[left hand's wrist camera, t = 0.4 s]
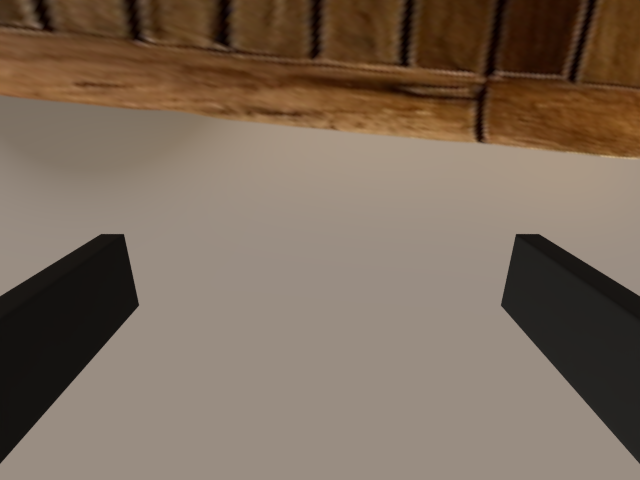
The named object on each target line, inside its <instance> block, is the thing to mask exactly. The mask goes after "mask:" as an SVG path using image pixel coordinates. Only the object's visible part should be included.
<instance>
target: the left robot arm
mask: <svg viewBox="0 0 640 480" xmlns="http://www.w3.org/2000/svg"><path fill="white" fill-rule="evenodd" d="M138 306H139V303H138V298H137V294H136V289H135V284H134V279H133V275H132V270H131V265H130V261H129V256H128V251H127V246H126V242H125V237H124V234H101V235H99V236H97V237H96V238H94V239H92V240H91V241H89V242H88V243H86V244H84V245H83V246H81V247H79V248H78V249H76V250H75V251H73V252H71V253H70V254H68V255H66V256H65V257H63V258H62V259H60V260H58V261H57V262H55V263H53V264H52V265H50V266H49V267H47V268H45V269H44V270H42V271H41V272H39V273H37V274H36V275H34V276H32V277H31V278H29V279H28V280H26V281H24V282H23V283H21V284H19V285H18V286H16V287H15V288H13V289H11V290H10V291H8V292H6V293H5V294H3V295H2V296H0V463H1V462H2V461H3V460H4V459H5V458H6V456H7V455H8V454H9V453H10V452H11V451H12V450H13V448H14V447H15V446H16V445H17V444H18V443H19V442H20V440H21V439H22V438H23V437H24V436H25V435H26V434H27V432H28V431H29V430H30V429H31V428H32V427H33V426H34V425H35V423H36V422H37V421H38V420H39V419H40V418H41V417H42V415H43V414H44V413H45V412H46V411H47V410H48V409H49V407H50V406H51V405H52V404H53V403H54V402H55V401H56V399H57V398H58V397H59V396H60V395H61V394H62V393H63V391H64V390H65V389H66V388H67V387H68V386H69V385H70V383H71V382H72V381H73V380H74V379H75V378H76V377H77V376H78V374H79V373H80V372H81V371H82V370H83V369H84V368H85V366H86V365H87V364H88V363H89V362H90V361H91V360H92V358H93V357H94V356H95V355H96V354H97V353H98V352H99V350H100V349H101V348H102V347H103V346H104V345H105V344H106V343H107V341H108V340H109V339H110V338H111V337H112V336H113V335H114V333H115V332H116V331H117V330H118V329H119V328H120V327H121V325H122V324H123V323H124V322H125V321H126V320H127V319H128V317H129V316H130V315H131V314H132V313H133V312H134V311H135V309H136V308H137V307H138ZM501 306H502V307H503V308H504V309H505V311H506V312H507V313H508V314H509V315H510V316H511V317H512V319H513V320H514V321H515V322H516V323H517V324H518V325H519V327H520V328H521V329H522V330H523V331H524V332H525V333H526V335H527V336H528V337H529V338H530V339H531V340H532V341H533V343H534V344H535V345H536V346H537V347H538V348H539V349H540V350H541V352H542V353H543V354H544V355H545V356H546V357H547V358H548V360H549V361H550V362H551V363H552V364H553V365H554V366H555V368H556V369H557V370H558V371H559V372H560V373H561V374H562V376H563V377H564V378H565V379H566V380H567V381H568V382H569V384H570V385H571V386H572V387H573V388H574V389H575V390H576V391H577V393H578V394H579V395H580V396H581V397H582V398H583V399H584V401H585V402H586V403H587V404H588V405H589V406H590V407H591V409H592V410H593V411H594V412H595V413H596V414H597V415H598V417H599V418H600V419H601V420H602V421H603V422H604V423H605V425H606V426H607V427H608V428H609V429H610V430H611V431H612V432H613V434H614V435H615V436H616V437H617V438H618V439H619V441H620V442H621V443H622V444H623V445H624V446H625V447H626V449H627V450H628V451H629V452H630V453H631V454H632V455H633V456H634V458H635V459H636V460H637V461H638V462H639V463H640V296H638V295H637V294H635V293H634V292H632V291H630V290H629V289H627V288H625V287H624V286H622V285H621V284H619V283H617V282H616V281H614V280H612V279H611V278H609V277H608V276H606V275H604V274H603V273H601V272H599V271H598V270H596V269H595V268H593V267H591V266H590V265H588V264H587V263H585V262H583V261H582V260H580V259H578V258H577V257H575V256H574V255H572V254H570V253H569V252H567V251H565V250H564V249H562V248H561V247H559V246H557V245H556V244H554V243H552V242H551V241H549V240H548V239H546V238H544V237H543V236H541V235H539V234H516V237H515V242H514V246H513V251H512V256H511V261H510V266H509V270H508V275H507V279H506V284H505V289H504V294H503V298H502V303H501Z"/></svg>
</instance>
